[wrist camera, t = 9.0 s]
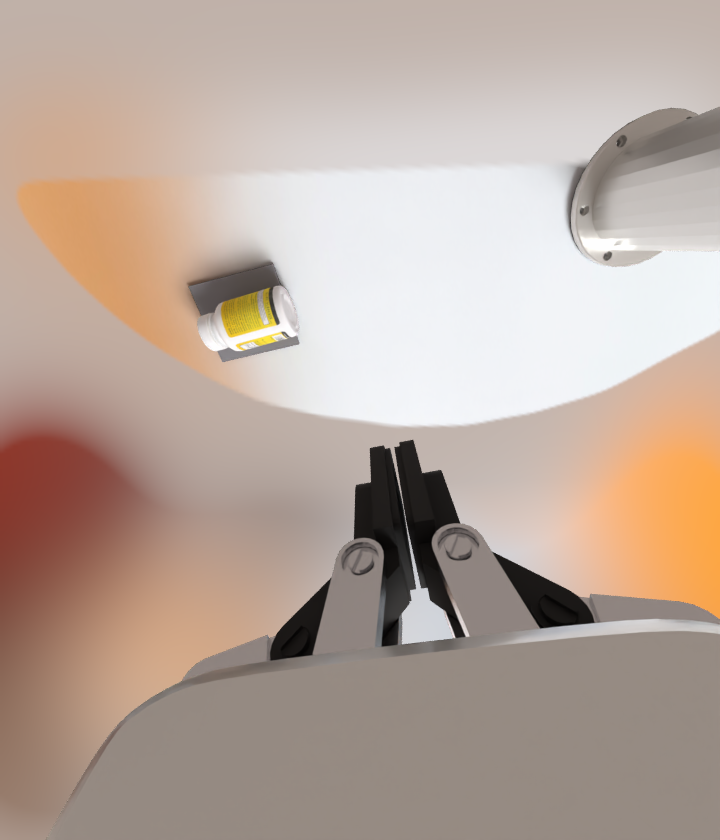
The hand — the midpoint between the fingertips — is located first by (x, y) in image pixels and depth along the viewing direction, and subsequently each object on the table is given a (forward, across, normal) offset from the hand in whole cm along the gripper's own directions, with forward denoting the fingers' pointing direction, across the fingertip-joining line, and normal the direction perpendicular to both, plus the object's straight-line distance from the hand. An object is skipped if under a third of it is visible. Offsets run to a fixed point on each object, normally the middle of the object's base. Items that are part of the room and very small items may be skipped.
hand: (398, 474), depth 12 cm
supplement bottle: (+26, +8, -4) cm, 27 cm away
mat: (+29, +14, -4) cm, 33 cm away
